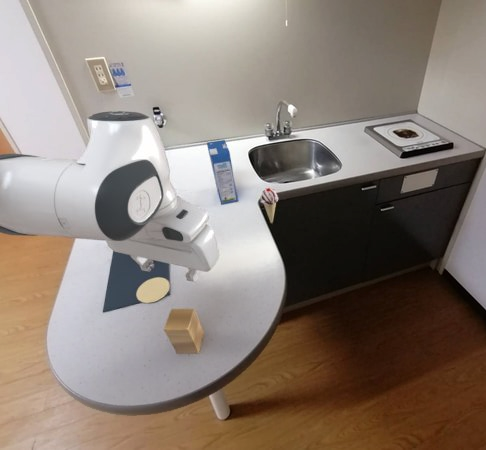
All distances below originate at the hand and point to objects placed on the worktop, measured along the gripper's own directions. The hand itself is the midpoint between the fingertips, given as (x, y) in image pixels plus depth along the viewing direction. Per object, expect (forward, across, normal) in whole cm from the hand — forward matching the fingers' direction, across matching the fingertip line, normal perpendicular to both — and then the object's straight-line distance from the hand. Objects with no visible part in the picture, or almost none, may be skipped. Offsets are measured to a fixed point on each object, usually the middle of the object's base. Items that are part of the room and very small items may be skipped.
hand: (170, 273), depth 57 cm
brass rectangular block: (+22, 0, -1) cm, 22 cm away
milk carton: (+20, -17, +56) cm, 62 cm away
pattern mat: (+22, -26, +17) cm, 38 cm away
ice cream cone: (+20, +5, +44) cm, 48 cm away
